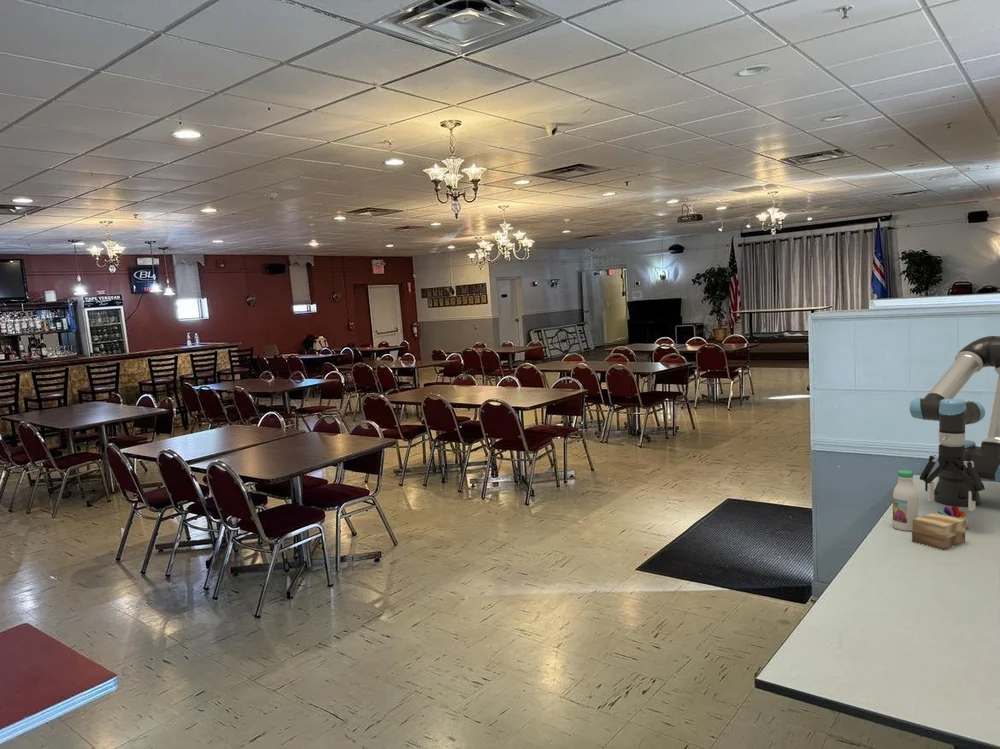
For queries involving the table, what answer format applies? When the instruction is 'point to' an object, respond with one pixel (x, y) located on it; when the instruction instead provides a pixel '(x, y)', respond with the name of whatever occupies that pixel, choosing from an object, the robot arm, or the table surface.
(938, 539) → the tower base
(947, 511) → the multicoloured petal toy
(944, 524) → the tower top
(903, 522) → the milk bottle
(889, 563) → the table surface
